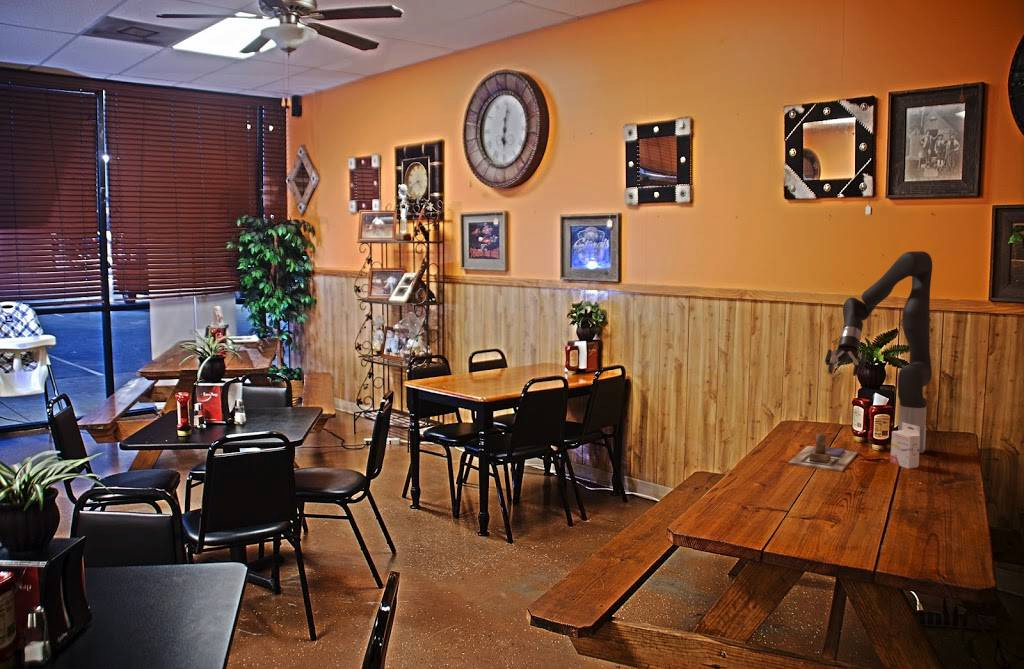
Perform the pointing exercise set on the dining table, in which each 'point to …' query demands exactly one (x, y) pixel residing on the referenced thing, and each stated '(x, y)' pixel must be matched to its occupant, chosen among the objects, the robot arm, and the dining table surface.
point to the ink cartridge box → (906, 446)
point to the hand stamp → (820, 450)
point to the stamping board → (836, 463)
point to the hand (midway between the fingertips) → (842, 373)
